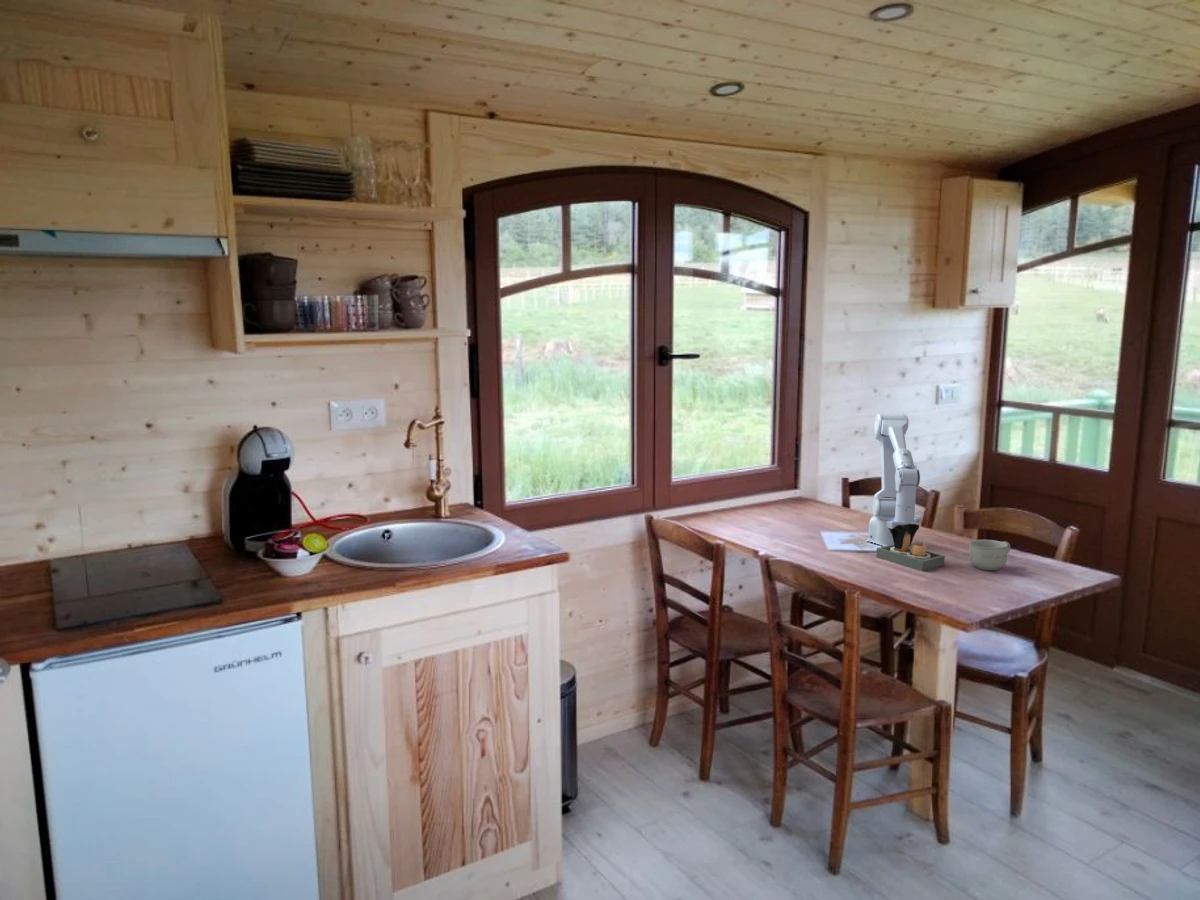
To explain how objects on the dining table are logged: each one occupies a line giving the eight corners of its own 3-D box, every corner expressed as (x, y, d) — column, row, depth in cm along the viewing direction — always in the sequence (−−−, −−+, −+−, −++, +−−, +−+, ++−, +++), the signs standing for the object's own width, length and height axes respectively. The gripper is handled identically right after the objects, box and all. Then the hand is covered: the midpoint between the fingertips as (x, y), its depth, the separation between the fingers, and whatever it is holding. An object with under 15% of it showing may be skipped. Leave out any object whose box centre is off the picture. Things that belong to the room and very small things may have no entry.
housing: (876, 557, 266) (877, 536, 264) (898, 551, 272) (899, 531, 270) (922, 571, 252) (923, 549, 250) (944, 565, 258) (945, 544, 256)
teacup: (982, 574, 249) (984, 548, 248) (959, 563, 260) (961, 538, 258) (1022, 571, 252) (1025, 546, 251) (999, 561, 262) (1001, 536, 261)
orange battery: (893, 551, 264) (894, 531, 263) (901, 549, 266) (902, 529, 265) (903, 554, 261) (905, 533, 260) (911, 552, 263) (913, 532, 262)
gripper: (901, 511, 254) (898, 553, 256) (930, 505, 262) (927, 546, 264) (882, 506, 260) (879, 548, 262) (911, 500, 268) (908, 541, 270)
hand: (902, 547), depth 263 cm, fingers closed on orange battery, 4 cm apart
